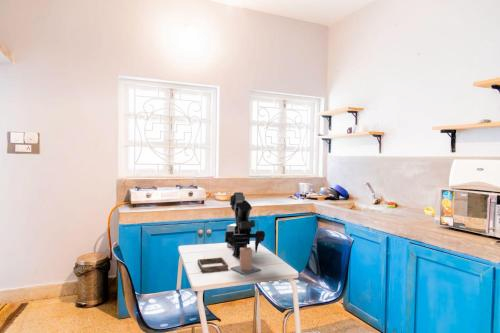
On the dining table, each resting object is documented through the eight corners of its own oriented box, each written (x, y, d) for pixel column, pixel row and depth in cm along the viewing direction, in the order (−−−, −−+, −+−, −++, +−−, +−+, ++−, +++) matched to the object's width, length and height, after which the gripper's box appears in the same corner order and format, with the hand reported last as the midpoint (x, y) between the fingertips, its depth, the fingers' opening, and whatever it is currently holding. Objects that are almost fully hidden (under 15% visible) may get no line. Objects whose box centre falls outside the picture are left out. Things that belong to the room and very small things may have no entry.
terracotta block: (239, 266, 148) (239, 247, 148) (250, 266, 149) (250, 247, 149) (240, 270, 143) (241, 250, 143) (251, 270, 144) (252, 250, 144)
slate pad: (247, 264, 153) (247, 263, 153) (261, 270, 145) (261, 269, 145) (230, 268, 147) (230, 267, 147) (243, 275, 139) (243, 273, 139)
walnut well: (222, 261, 158) (222, 257, 158) (228, 269, 146) (228, 265, 146) (197, 263, 154) (197, 259, 154) (201, 272, 142) (201, 267, 142)
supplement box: (236, 248, 180) (237, 226, 180) (226, 246, 184) (226, 225, 184) (244, 245, 186) (244, 224, 186) (233, 244, 190) (233, 223, 190)
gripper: (225, 214, 148) (226, 244, 137) (264, 213, 151) (269, 242, 140) (224, 227, 156) (225, 256, 145) (261, 226, 159) (265, 255, 148)
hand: (246, 252), depth 144 cm, fingers open, 9 cm apart
